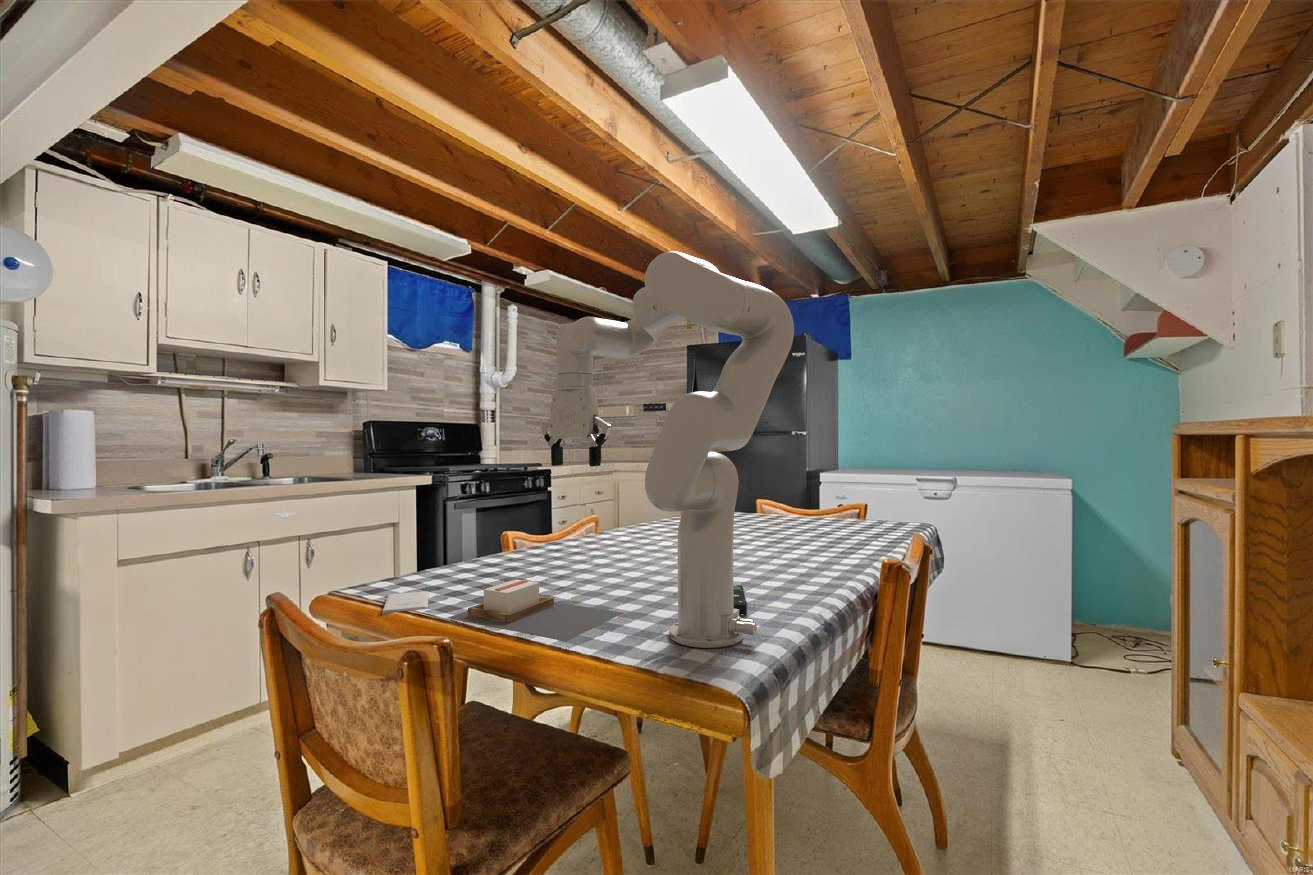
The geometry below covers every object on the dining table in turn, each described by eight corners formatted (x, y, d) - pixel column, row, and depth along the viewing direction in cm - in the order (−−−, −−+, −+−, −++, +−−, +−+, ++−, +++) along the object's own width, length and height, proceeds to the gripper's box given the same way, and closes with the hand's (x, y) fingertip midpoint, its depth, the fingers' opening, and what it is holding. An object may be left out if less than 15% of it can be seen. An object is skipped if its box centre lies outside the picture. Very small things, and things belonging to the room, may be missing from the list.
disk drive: (748, 618, 116) (742, 597, 131) (748, 604, 116) (742, 584, 131) (693, 617, 117) (694, 596, 132) (693, 603, 117) (694, 583, 131)
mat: (623, 615, 116) (623, 612, 116) (566, 643, 101) (566, 640, 101) (512, 597, 130) (512, 595, 130) (446, 620, 114) (446, 617, 114)
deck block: (507, 617, 113) (507, 592, 113) (483, 612, 116) (483, 588, 116) (539, 605, 121) (539, 581, 121) (516, 601, 124) (516, 578, 124)
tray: (553, 606, 122) (553, 598, 122) (508, 624, 110) (508, 615, 110) (515, 599, 126) (515, 592, 126) (467, 616, 115) (467, 608, 115)
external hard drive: (429, 598, 132) (427, 613, 121) (388, 601, 130) (382, 618, 118) (429, 590, 132) (427, 605, 121) (388, 594, 130) (382, 609, 118)
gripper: (530, 384, 127) (531, 466, 128) (599, 380, 119) (600, 467, 119) (553, 386, 134) (554, 464, 134) (619, 383, 126) (620, 465, 126)
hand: (575, 465), depth 127 cm, fingers open, 9 cm apart
